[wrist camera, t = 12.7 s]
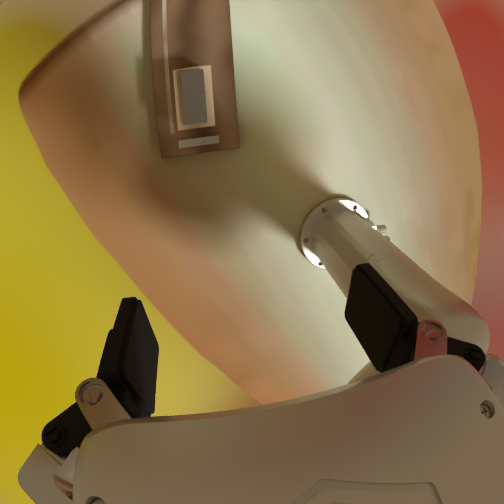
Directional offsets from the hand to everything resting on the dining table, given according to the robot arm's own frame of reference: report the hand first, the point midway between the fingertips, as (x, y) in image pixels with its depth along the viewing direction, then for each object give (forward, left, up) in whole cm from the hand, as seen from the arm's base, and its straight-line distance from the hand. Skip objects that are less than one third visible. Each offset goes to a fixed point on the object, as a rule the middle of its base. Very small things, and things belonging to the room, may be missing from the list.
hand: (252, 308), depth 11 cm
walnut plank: (+2, -18, -28) cm, 34 cm away
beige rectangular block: (+2, -10, -26) cm, 28 cm away
